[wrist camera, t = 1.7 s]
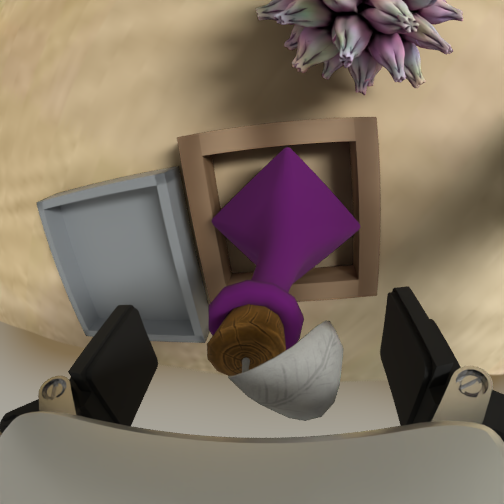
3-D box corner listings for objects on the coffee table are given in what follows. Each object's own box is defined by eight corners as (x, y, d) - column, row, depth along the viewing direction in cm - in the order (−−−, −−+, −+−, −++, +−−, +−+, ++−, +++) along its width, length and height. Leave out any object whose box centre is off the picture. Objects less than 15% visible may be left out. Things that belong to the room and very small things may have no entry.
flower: (433, 90, 18) (533, 83, 7) (287, 112, 21) (284, 104, 10) (389, -34, 14) (442, -106, 3) (245, -16, 16) (206, -102, 6)
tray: (178, 166, 23) (164, 172, 20) (212, 322, 29) (205, 342, 26) (55, 193, 25) (36, 202, 23) (98, 320, 31) (86, 335, 29)
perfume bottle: (284, 270, 26) (266, 478, 10) (219, 208, 24) (99, 379, 8) (353, 212, 23) (447, 400, 7) (287, 141, 21) (279, 213, 5)
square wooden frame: (367, 117, 20) (376, 117, 18) (370, 280, 25) (376, 295, 23) (188, 135, 22) (176, 137, 20) (217, 289, 27) (210, 305, 25)
